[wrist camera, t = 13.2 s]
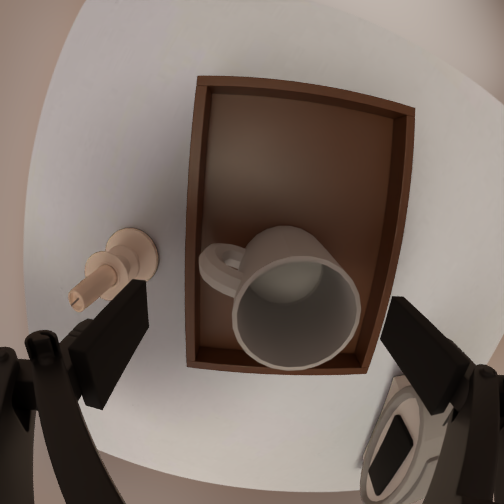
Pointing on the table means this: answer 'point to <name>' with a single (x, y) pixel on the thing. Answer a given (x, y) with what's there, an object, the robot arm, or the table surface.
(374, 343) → the tray
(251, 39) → the table surface
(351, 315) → the cup
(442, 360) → the robot arm
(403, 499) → the alarm clock
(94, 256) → the candle
